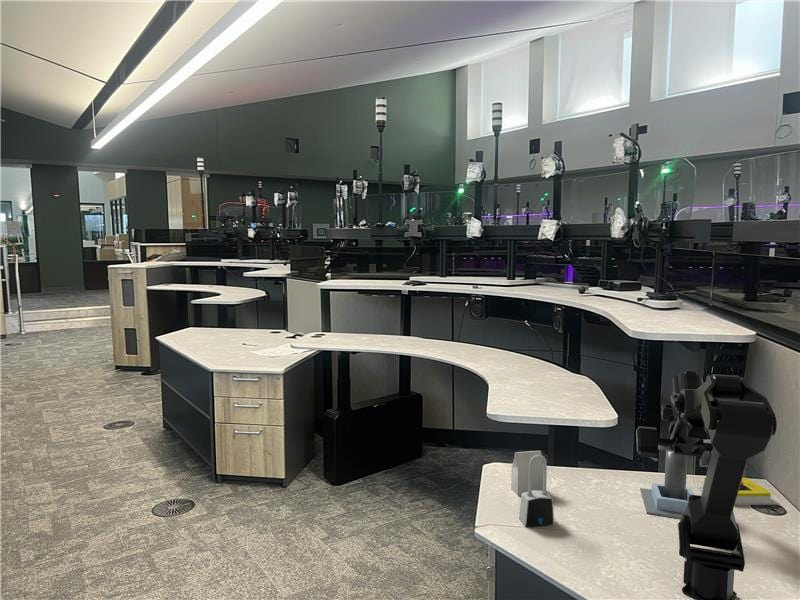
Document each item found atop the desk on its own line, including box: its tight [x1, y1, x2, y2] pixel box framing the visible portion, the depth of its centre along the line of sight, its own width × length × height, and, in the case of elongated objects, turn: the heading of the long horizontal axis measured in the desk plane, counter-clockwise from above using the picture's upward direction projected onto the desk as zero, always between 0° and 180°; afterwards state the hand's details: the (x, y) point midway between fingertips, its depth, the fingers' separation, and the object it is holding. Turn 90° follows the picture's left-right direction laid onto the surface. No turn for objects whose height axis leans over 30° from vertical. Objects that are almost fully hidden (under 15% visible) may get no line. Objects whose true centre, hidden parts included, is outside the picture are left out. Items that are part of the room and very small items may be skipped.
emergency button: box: [696, 476, 780, 506], centre depth 126 cm, size 9×4×15 cm
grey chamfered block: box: [511, 450, 543, 496], centre depth 127 cm, size 4×7×10 cm, turn 102°
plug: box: [663, 450, 689, 500], centre depth 120 cm, size 4×4×12 cm
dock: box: [639, 482, 695, 520], centre depth 121 cm, size 13×13×3 cm
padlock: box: [518, 454, 555, 528], centre depth 112 cm, size 7×4×15 cm, turn 100°
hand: (677, 461), depth 118 cm, fingers open, 9 cm apart
